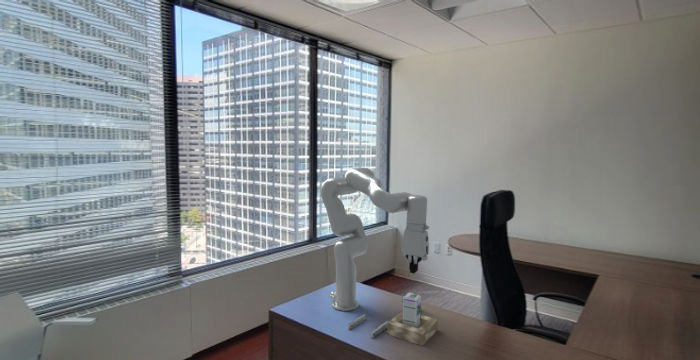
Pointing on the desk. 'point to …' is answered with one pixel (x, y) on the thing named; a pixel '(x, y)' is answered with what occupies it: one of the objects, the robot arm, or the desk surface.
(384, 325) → the stand rails
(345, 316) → the desk surface
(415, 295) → the syrup box
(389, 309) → the desk surface
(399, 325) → the beige square tray
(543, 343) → the desk surface
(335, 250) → the robot arm
